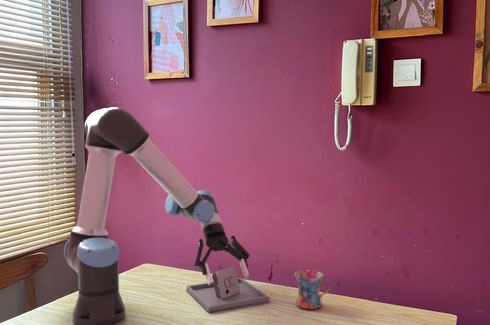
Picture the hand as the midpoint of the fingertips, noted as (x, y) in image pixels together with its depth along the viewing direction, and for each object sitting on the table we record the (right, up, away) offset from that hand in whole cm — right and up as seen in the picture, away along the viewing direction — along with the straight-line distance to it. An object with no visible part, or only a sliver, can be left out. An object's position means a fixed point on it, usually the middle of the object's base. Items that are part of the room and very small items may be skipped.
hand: (229, 280), depth 153 cm
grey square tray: (-1, -6, +2) cm, 7 cm away
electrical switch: (-1, -6, +3) cm, 7 cm away
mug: (+27, -7, -6) cm, 29 cm away
